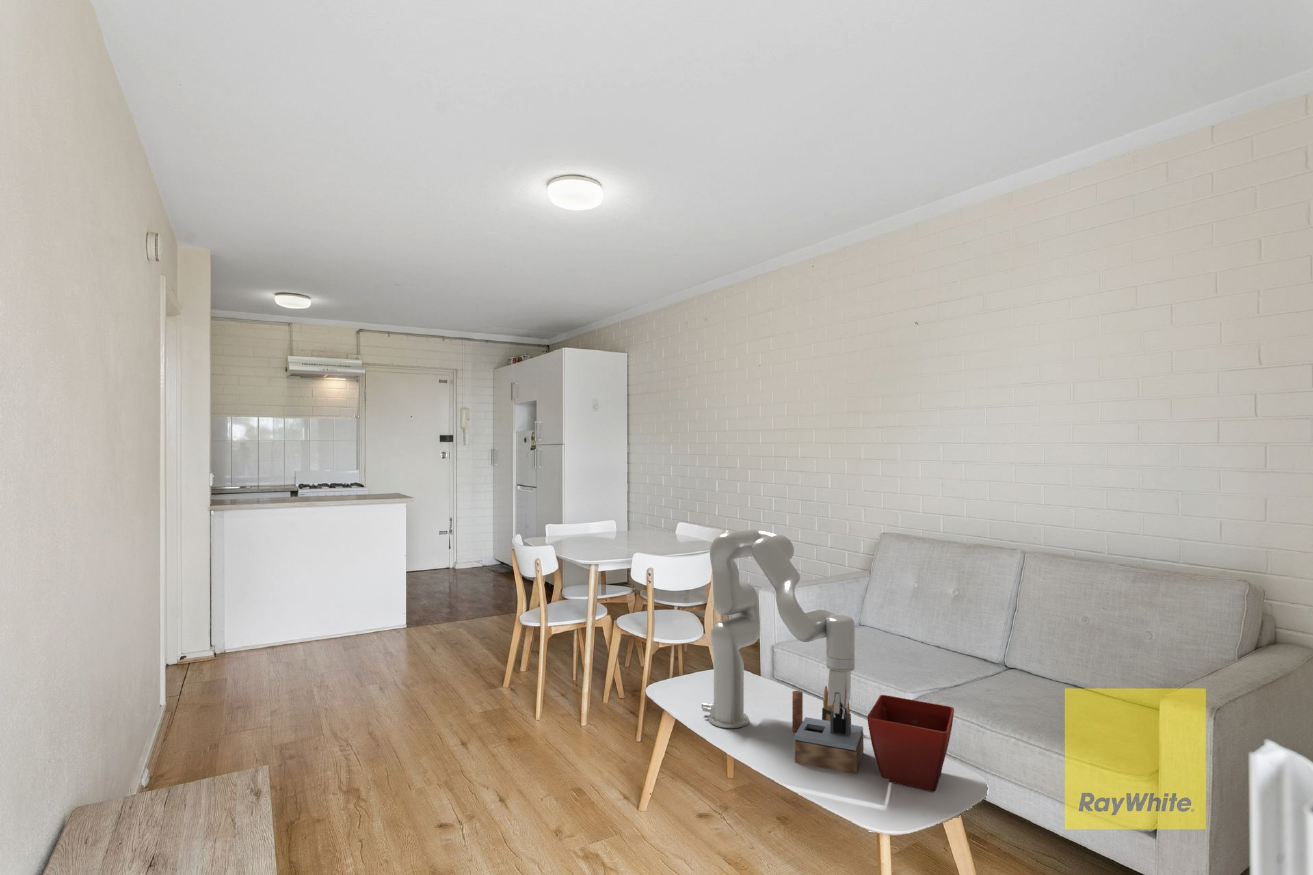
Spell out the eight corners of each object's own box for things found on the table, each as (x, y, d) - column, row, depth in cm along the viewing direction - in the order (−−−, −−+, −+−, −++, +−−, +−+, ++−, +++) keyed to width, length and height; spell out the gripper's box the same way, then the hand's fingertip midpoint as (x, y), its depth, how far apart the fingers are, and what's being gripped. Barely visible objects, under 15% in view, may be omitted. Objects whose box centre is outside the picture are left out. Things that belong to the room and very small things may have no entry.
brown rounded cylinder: (791, 735, 199) (791, 693, 199) (793, 731, 202) (793, 690, 202) (801, 737, 198) (801, 694, 198) (803, 733, 200) (803, 691, 201)
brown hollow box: (795, 765, 179) (795, 740, 179) (805, 745, 192) (805, 722, 192) (856, 778, 172) (856, 751, 172) (863, 756, 185) (863, 732, 185)
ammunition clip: (851, 735, 199) (851, 694, 200) (847, 736, 198) (847, 695, 199) (826, 722, 209) (825, 684, 209) (821, 723, 208) (821, 685, 208)
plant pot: (947, 802, 160) (947, 731, 161) (866, 783, 169) (866, 716, 170) (955, 770, 177) (954, 706, 177) (880, 754, 186) (880, 693, 187)
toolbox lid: (794, 739, 179) (794, 716, 179) (805, 721, 192) (805, 699, 192) (856, 750, 172) (855, 726, 173) (863, 730, 185) (862, 708, 185)
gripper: (831, 652, 191) (831, 717, 190) (820, 668, 176) (821, 739, 175) (858, 656, 187) (858, 721, 187) (850, 672, 173) (850, 744, 172)
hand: (840, 729), depth 181 cm, fingers closed on toolbox lid, 3 cm apart
